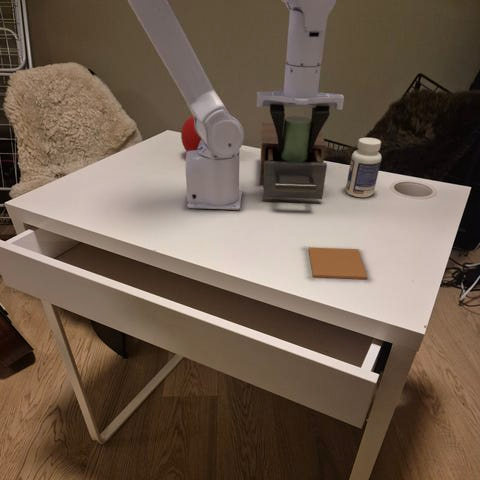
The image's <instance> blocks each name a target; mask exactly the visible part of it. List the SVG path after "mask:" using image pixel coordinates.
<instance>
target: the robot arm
mask: <svg viewBox="0 0 480 480" xmlns="http://www.w3.org/2000/svg"><path fill="white" fill-rule="evenodd" d="M126 1H127V3H128V4H129V6H130V8H131V9H132V11H133V13H134V15H135V16H136V18H137V20H138V21H139V23H140V25H141V26H142V28H143V30H144V32H145V33H146V35H147V37H148V39H149V40H150V42H151V44H152V45H153V47H154V50H156V52H157V54H158V55H159V57H160V59H161V61H162V63H163V64H164V66H165V68H166V69H167V71H168V73H169V74H170V76H171V78H172V80H173V81H174V83H175V85H176V86H177V88H178V90H179V91H180V94H181V95H182V96H183V98H184V100H185V102H186V105H187V107H188V109H189V111H190V112H191V114H192V117H194V124H195V130H196V132H197V134H198V135H199V136H200V137H201V138H202V139H201V141H200V143H199V146H198V150H194V151H187V152H186V155H185V183H186V196H187V197H186V198H187V208H188V209H202V210H203V209H207V210H233V211H235V210H240V209H241V203H242V193H243V190H241V189H240V151H241V150H240V149H241V148H242V146H243V143H244V139H245V131H244V128H243V126H242V124H241V122H240V121H239V120H238V119H237V118H235V117H234V116H232V115H231V114H230V113H229V112H228V110H227V108H226V106H225V104H224V103H223V101H222V99H221V98H220V96H219V95H218V94H217V92H216V91H215V88H214V87H213V85H212V83H211V82H210V80H209V78H208V76H207V74H206V72H205V70H204V68H203V66H202V64H201V62H200V60H199V59H198V56H197V54H196V53H195V51H194V49H193V46H192V45H191V43H190V41H189V39H188V37H187V35H186V33H185V32H184V29H183V28H182V26H181V24H180V22H179V20H178V18H177V16H176V14H175V12H174V11H173V9H172V7H171V5H170V3H169V1H168V0H126ZM280 1H281V2H283V3H285V6H286V8H287V10H288V11H289V20H288V30H287V42H286V43H287V44H286V45H287V46H286V57H285V68H284V80H283V81H284V82H283V90H280V91H278V90H277V91H257V92H256V107H257V108H264V107H269V114H270V117H271V120H272V122H273V123H274V126H275V129H276V133H277V139H278V152H282V150H283V127H284V120H285V118H286V114H285V110H286V109H285V108H308V109H309V108H311V117H310V119H311V120H312V125H311V133H310V140H309V147H308V153H312V151H313V147H314V144H315V141H316V139H317V137H318V134H319V132H320V130H321V131H322V129H323V127H324V125H325V124H326V122H327V121H328V119H329V117H330V109H335V110H339V111H340V110H343V108H344V102H345V96H344V95H343V94H338V93H328V92H319V86H320V77H321V71H322V70H321V68H322V62H323V61H322V60H323V53H324V47H325V38H326V29H327V25H328V24H327V23H328V18H329V15H330V13H331V12H332V10H333V9H334V7H335V5H336V3H337V1H338V0H280Z"/></svg>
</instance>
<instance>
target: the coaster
mask: <svg viewBox="0 0 480 480" xmlns="http://www.w3.org/2000/svg"><path fill="white" fill-rule="evenodd" d="M308 255H309V262H310V266H311V273H312V278H325V279H326V278H327V279H328V278H329V279H330V278H331V279H352V280H353V279H356V280H368V273H367V271H366V268H365V265H364V263H363V258H362V257H361V253H360V250H359V249H358V248H336V247H335V248H334V247H333V248H332V247H331V248H330V247H311V246H309V247H308Z"/></svg>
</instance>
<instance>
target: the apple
mask: <svg viewBox="0 0 480 480" xmlns="http://www.w3.org/2000/svg"><path fill="white" fill-rule="evenodd" d="M180 138H181V143H182V146H183V148H184V150H185V152H186V153H187V151H194V150H198V146H199V143H200V141H201V139H202V138H201V137H200V136H199V135H198V134H197V132H196V130H195V124H194V117H193V116H191V117H188V118H187V119H186V120H185V122H184V123H183V125H182V128H181V132H180Z"/></svg>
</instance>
